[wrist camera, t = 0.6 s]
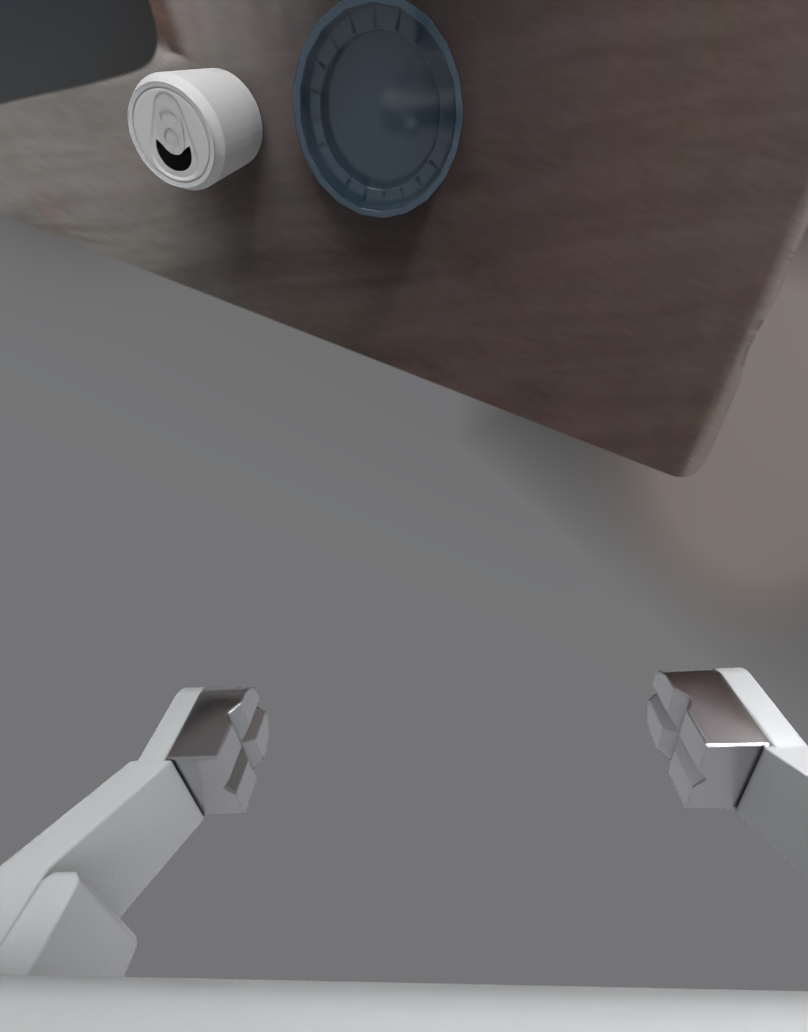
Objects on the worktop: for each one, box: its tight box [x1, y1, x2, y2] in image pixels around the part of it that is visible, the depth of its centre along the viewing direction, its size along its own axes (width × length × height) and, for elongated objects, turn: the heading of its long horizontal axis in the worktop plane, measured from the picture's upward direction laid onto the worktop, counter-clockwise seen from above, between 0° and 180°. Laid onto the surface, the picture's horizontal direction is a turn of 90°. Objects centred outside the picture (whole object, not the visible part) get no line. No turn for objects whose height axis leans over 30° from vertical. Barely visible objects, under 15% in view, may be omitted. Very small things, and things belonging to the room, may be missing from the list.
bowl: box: [294, 0, 463, 218], centre depth 37 cm, size 13×13×4 cm
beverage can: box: [128, 68, 263, 190], centre depth 35 cm, size 6×6×12 cm
